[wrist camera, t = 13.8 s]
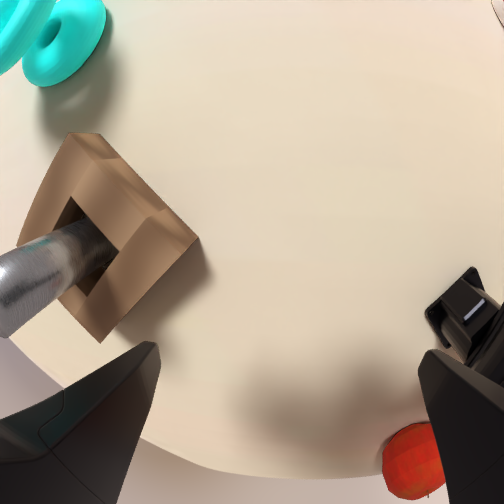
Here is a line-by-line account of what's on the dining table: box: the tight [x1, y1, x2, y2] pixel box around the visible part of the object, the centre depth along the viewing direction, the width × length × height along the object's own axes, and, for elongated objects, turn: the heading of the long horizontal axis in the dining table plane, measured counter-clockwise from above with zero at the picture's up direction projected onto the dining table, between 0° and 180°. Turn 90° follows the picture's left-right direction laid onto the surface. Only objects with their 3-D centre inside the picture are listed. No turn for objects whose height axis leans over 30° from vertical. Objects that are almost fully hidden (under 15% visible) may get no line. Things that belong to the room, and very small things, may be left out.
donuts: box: [0, 0, 106, 87], centre depth 11 cm, size 10×10×10 cm
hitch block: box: [16, 133, 198, 343], centre depth 19 cm, size 12×12×4 cm
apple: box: [382, 423, 446, 500], centre depth 22 cm, size 10×10×12 cm
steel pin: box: [0, 217, 120, 338], centre depth 15 cm, size 4×4×13 cm
